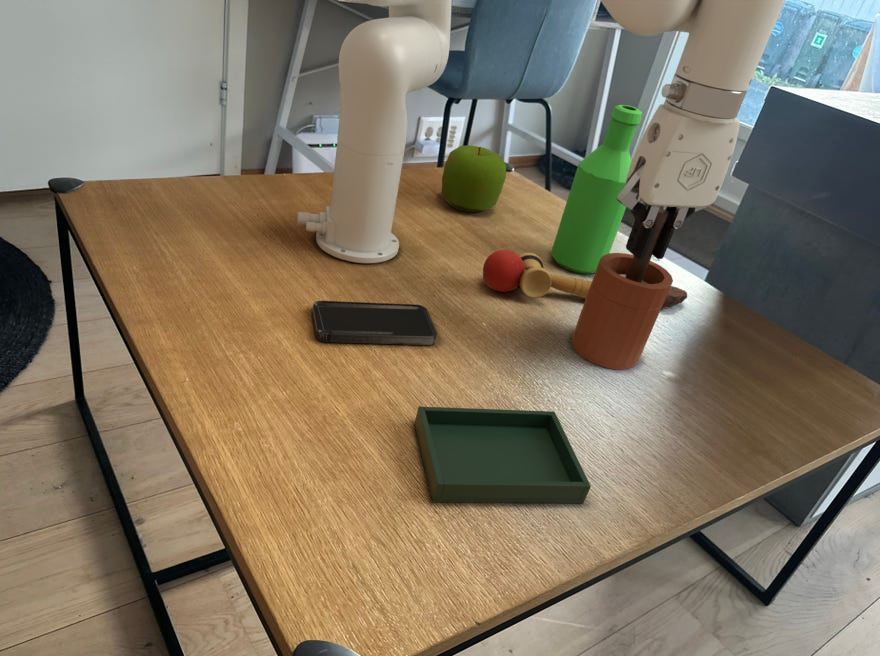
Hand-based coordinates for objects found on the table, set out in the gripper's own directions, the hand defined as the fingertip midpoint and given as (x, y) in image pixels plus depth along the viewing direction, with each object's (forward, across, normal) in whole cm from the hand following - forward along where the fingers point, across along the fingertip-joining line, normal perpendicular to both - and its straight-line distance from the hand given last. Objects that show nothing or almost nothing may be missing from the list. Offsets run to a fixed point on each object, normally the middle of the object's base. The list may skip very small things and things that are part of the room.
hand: (643, 252), depth 85 cm
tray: (+14, -24, -18) cm, 34 cm away
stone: (+15, +17, +12) cm, 25 cm away
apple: (+14, -2, +46) cm, 48 cm away
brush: (+10, 0, 0) cm, 10 cm away
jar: (+14, 0, 0) cm, 14 cm away
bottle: (+15, +9, +24) cm, 29 cm away
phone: (+14, -30, +7) cm, 34 cm away
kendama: (+15, -3, +15) cm, 21 cm away
